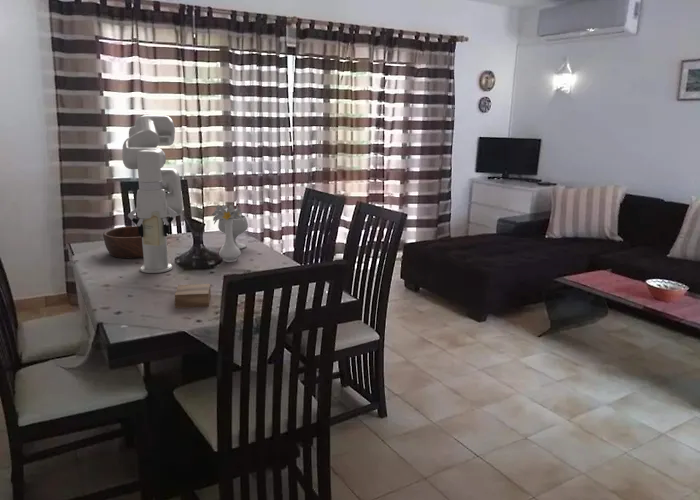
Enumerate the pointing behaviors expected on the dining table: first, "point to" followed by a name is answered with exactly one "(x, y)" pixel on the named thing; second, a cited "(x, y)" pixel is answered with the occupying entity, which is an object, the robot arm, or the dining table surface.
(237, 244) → the chalice
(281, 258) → the dining table surface
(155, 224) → the skincare box
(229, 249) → the flower vase
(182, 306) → the light wood square block
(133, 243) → the wooden bowl
